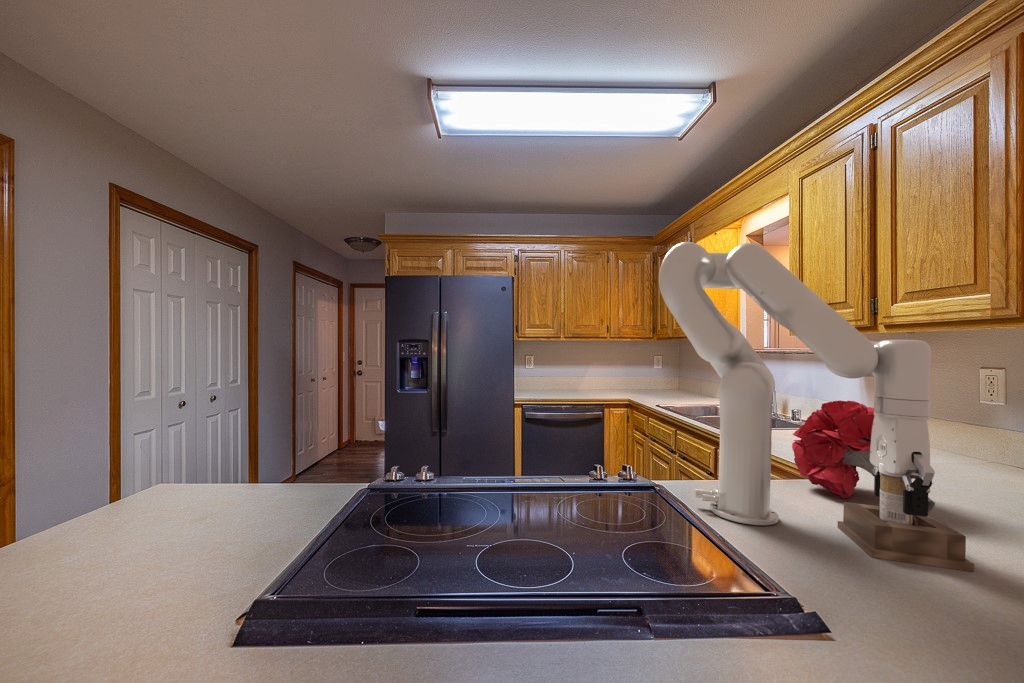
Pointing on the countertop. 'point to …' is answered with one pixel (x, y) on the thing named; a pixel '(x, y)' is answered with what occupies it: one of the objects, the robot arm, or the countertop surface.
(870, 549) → the socket block
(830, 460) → the bouquet
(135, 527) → the countertop surface
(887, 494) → the sprinkles bottle
